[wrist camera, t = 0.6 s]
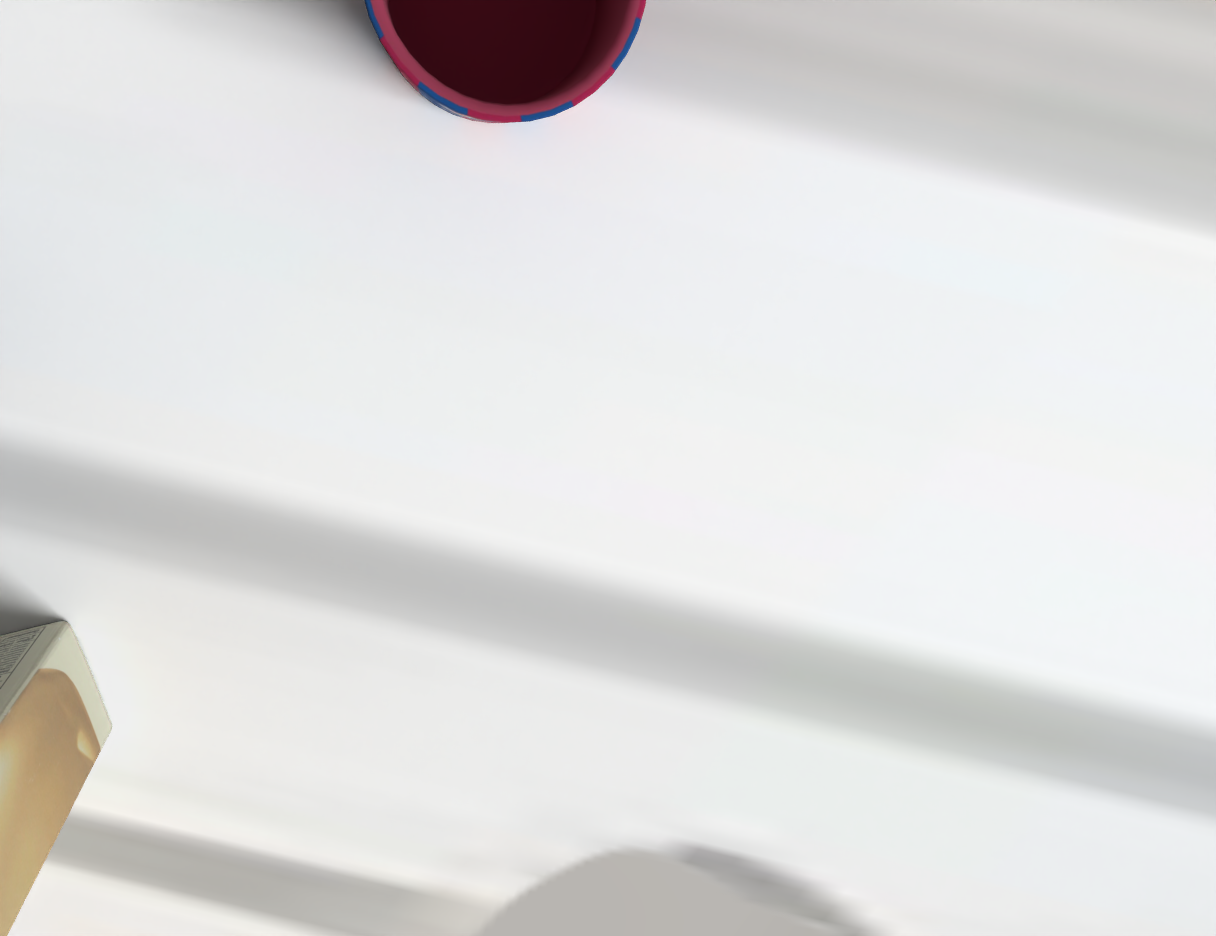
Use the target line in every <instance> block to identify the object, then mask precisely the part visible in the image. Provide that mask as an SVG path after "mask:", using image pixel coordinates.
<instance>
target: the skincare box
mask: <svg viewBox="0 0 1216 936" xmlns="http://www.w3.org/2000/svg"><path fill="white" fill-rule="evenodd" d="M111 729H112V724H111V721H110V719H109V716H108V714H107V711H106V709H105V706H104V703H103V701H102V698H101V695H100V693H99V690H98V688H97V685H96V683H95V680H94V678H93V675H92V673H91V670H90V668H89V666H88V663H87V661H86V659H85V656H84V654H83V652H82V649H81V647H80V645H79V642H78V640H77V638H76V636H75V633H74V631H73V629H72V627H71V625H70V624H69V623H68V622H64V621H59V622H54V623H50V624H46V625H42V626H37V627H33V628H29V629H25V630H21V631H17V632H13V633H9V634H5V635H2V636H0V936H7V935H8V933H9V931H10V929H11V927H12V925H13V923H14V921H15V919H16V917H17V915H18V913H19V911H20V909H21V907H22V905H23V903H24V901H25V899H26V897H27V895H28V893H29V891H30V889H31V887H32V885H33V883H34V881H35V879H36V877H37V875H38V873H39V871H40V869H41V867H42V865H43V863H44V861H45V860H46V858H47V856H48V854H49V852H50V850H51V848H52V846H53V844H54V842H55V840H56V838H57V836H58V834H59V832H60V830H61V828H62V826H63V824H64V822H65V820H66V818H67V816H68V815H69V813H70V811H71V808H72V806H73V804H74V802H75V800H76V798H77V796H78V794H79V792H80V790H81V788H82V787H83V784H84V782H85V780H86V778H87V776H88V774H89V772H90V771H91V769H92V767H93V765H94V763H95V761H96V759H97V757H98V755H99V753H100V751H101V749H102V747H103V745H104V743H105V741H106V739H107V737H108V735H109V734H110V732H111Z"/></svg>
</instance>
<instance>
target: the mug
mask: <svg viewBox="0 0 1216 936" xmlns="http://www.w3.org/2000/svg"><path fill="white" fill-rule="evenodd" d="M365 4H366V7H367V11H368V15H369V18H370V20H371V22H372V24H373V26H374V29H375V31H376V33H377V35H378V37H379V40H380V42H381V43H382V45H383V46H384V48H385V49H386V51H387V53H388V54H389V56H390V57H391V59H392V60H393V62H394V63H395V65H396V66H397V68H398V69H399V70H400V72H401V73H402V75H403V76H404V78H405V79H406V80H407V81H408V82H409V83H410V84H411V85H412V86H413V87H414V88H415V89H416V90H417V91H418V92H419V93H420V94H421V95H422V96H424V97H425V98H426V99H428V100H429V101H430V102H432V103H433V104H434V105H436V106H438V107H440V108H442V109H444V110H445V111H447V112H449V113H451V114H453V115H456V116H459V117H463V118H466V119H469V120H472V121H479V122H487V123H508V122H526V121H533V120H537V119H541V118H545V117H550V116H553V115H556V114H558V113H560V112H562V111H564V110H567V109H569V108H571V107H573V106H575V105H577V104H578V103H580V102H581V101H583V100H584V99H586V98H587V97H588V96H590V95H591V94H593V93H594V92H595V91H596V90H597V89H598V88H599V87H600V86H601V85H602V84H604V83H605V82H606V81H607V80H608V79H609V78H610V77H611V76H612V75H613V73H614V72H615V70H616V69H617V67H618V66H619V65H620V63H621V62H622V60H623V59H624V58H625V56H626V55H627V53H628V51H629V49H630V47H631V44H632V42H633V40H634V38H635V36H636V34H637V32H638V29H639V26H640V22H641V19H642V15H643V12H644V8H645V4H646V0H365Z"/></svg>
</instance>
